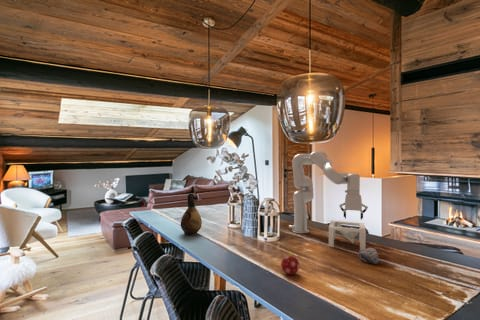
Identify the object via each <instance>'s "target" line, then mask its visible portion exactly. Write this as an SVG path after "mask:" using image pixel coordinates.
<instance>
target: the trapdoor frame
mask: <svg viewBox="0 0 480 320" xmlns="http://www.w3.org/2000/svg"><path fill="white" fill-rule="evenodd" d="M336 222H338V223H339V224H340V225H345V226H355V227H353V228H351V227H345V226H342V227H335V224H336ZM356 226H357V227H359V228H356ZM338 230H340V231H351V232H358V235H359V236H358V237H359V238H358V239H359V251H361V250H364V249H367V248H366V242H367V241H366V239H367V236H366V233H367V232H366V225H365V223H364V222H353V221H344V220H343V221H342V220H330V221H329V225H328V247H330V248H335V240H336V231H338Z"/></svg>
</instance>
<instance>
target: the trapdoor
mask: <svg viewBox="0 0 480 320" xmlns="http://www.w3.org/2000/svg"><path fill="white" fill-rule="evenodd" d="M335 227H343V226H342V224H339V223H338V222H336V224H335ZM337 231H338V232H339V233H340V234H342V235H343V236H344V237H345V238H346V239H347V240H348V241H350V242H351V243H352V244H354V243H355V237H354V238H353V239H352V238H351V237H349V236H348V235H347V234H346V232H347V231H340V230H337Z"/></svg>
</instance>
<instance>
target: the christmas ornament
mask: <svg viewBox="0 0 480 320" xmlns="http://www.w3.org/2000/svg"><path fill="white" fill-rule="evenodd" d="M280 263H281V270H282V271H283V272H284V273H285V274H287V275H292V276H293V275H296V273H297V272H298V271H299V269H300V262H299V260H298V258H296V257H295V256H294V255H293V254H292V253H291V252H290V253H288V255H286V256H285V257H283V258H282V260H281V262H280Z"/></svg>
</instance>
